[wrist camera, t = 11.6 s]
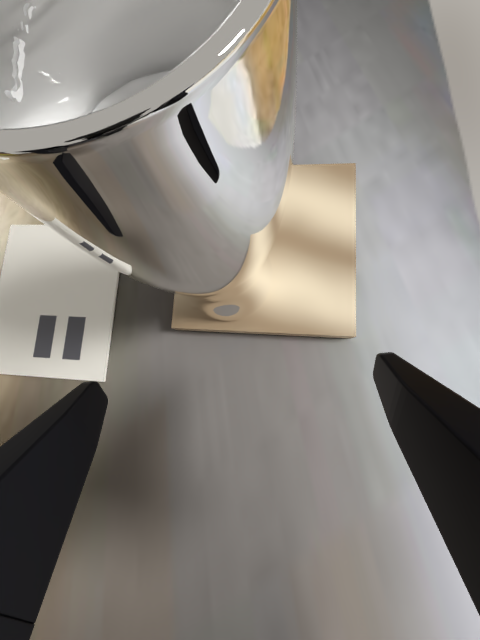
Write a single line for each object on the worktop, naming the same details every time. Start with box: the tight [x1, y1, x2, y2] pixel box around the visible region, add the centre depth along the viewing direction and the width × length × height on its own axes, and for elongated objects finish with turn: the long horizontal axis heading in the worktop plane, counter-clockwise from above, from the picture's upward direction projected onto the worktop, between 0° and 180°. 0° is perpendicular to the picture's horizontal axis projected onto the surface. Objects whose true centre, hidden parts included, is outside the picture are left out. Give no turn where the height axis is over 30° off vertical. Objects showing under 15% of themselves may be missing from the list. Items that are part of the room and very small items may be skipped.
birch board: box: [171, 163, 356, 338], centre depth 19 cm, size 12×12×1 cm
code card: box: [0, 225, 120, 382], centre depth 21 cm, size 12×10×1 cm
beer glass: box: [0, 0, 297, 321], centre depth 11 cm, size 7×7×15 cm
